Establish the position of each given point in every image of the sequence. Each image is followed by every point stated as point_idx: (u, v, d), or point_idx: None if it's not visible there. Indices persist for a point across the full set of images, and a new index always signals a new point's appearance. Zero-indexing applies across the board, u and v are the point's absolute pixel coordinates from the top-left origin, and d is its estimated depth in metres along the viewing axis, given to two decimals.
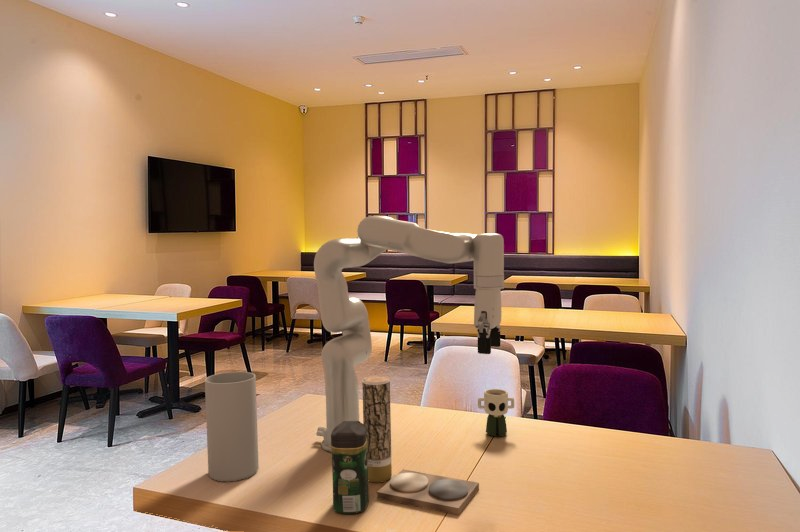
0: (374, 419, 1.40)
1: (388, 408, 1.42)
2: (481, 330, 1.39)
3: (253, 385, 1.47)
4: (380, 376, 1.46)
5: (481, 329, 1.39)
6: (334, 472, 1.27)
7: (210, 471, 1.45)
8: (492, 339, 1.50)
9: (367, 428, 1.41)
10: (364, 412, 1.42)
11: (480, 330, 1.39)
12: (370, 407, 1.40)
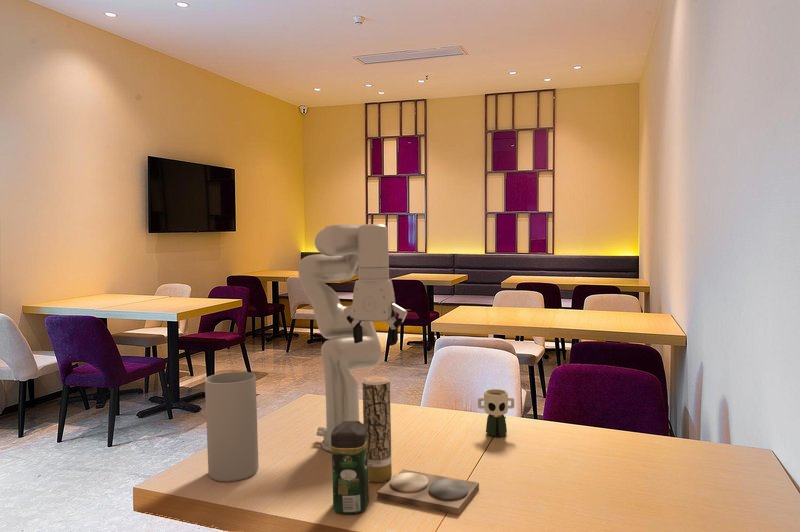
0: (374, 419, 1.40)
1: (388, 408, 1.42)
2: (403, 319, 1.39)
3: (253, 385, 1.47)
4: (380, 376, 1.46)
5: (404, 318, 1.39)
6: (334, 472, 1.27)
7: (210, 471, 1.45)
8: (358, 335, 1.44)
9: (367, 428, 1.41)
10: (364, 412, 1.42)
11: (403, 320, 1.39)
12: (370, 407, 1.40)
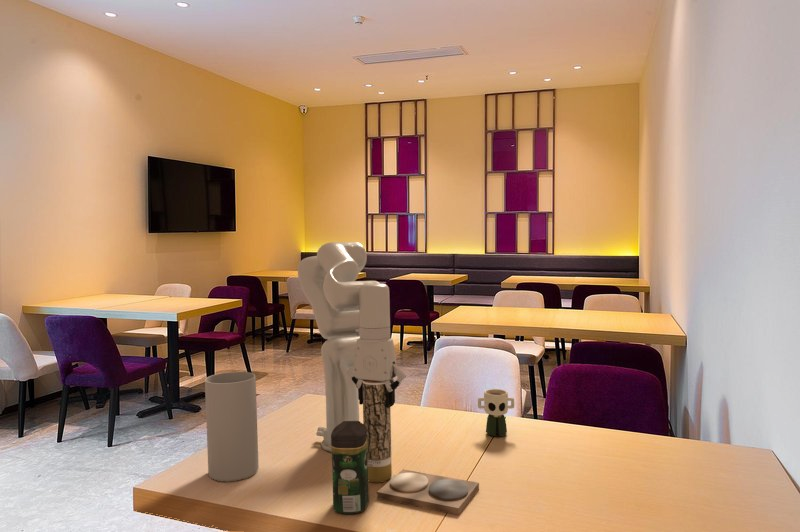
0: (374, 419, 1.40)
1: (388, 408, 1.42)
2: (400, 383, 1.40)
3: (253, 385, 1.47)
4: None
5: None
6: (334, 472, 1.27)
7: (210, 471, 1.45)
8: None
9: (367, 428, 1.41)
10: (364, 412, 1.42)
11: (400, 383, 1.40)
12: (370, 407, 1.40)
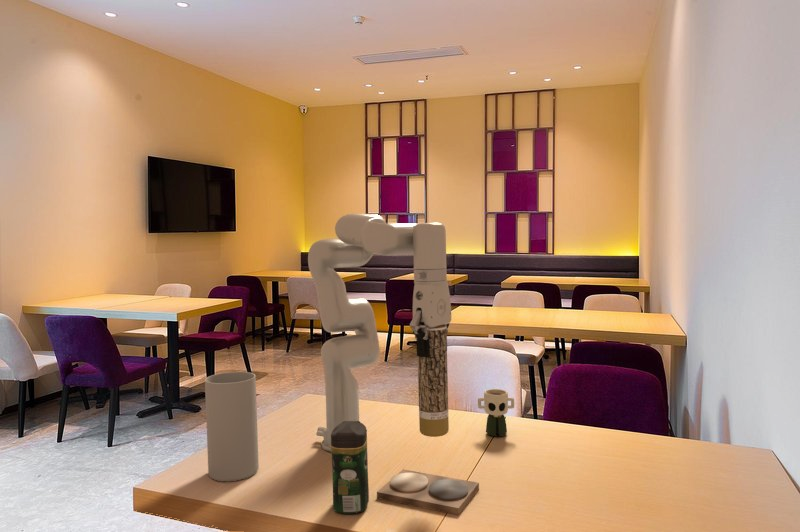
0: (446, 365, 1.32)
1: None
2: None
3: (253, 385, 1.47)
4: None
5: None
6: (334, 472, 1.27)
7: (210, 471, 1.45)
8: None
9: (442, 377, 1.31)
10: (437, 362, 1.30)
11: None
12: (445, 354, 1.32)
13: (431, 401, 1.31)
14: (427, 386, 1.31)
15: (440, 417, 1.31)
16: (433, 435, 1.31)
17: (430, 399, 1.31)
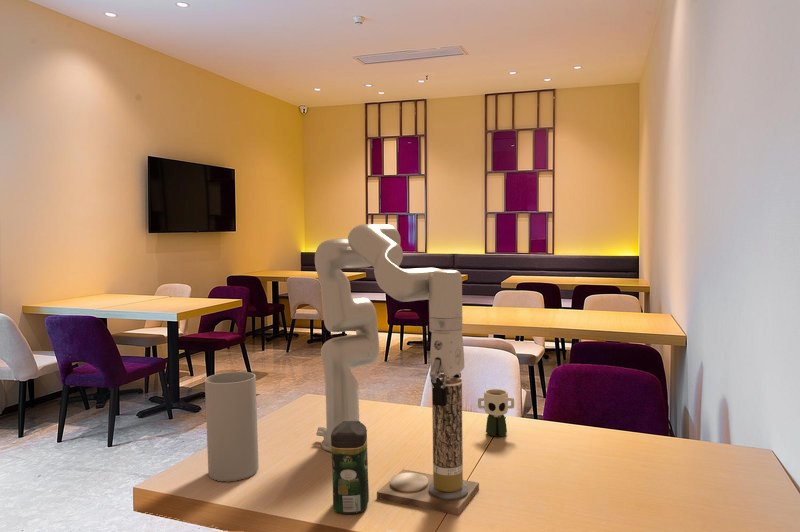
0: None
1: None
2: None
3: (253, 385, 1.47)
4: None
5: None
6: (334, 472, 1.27)
7: (210, 471, 1.45)
8: None
9: (459, 432, 1.30)
10: (455, 417, 1.29)
11: None
12: (461, 408, 1.31)
13: (448, 457, 1.29)
14: (444, 442, 1.29)
15: (457, 472, 1.30)
16: (450, 491, 1.30)
17: (447, 455, 1.29)
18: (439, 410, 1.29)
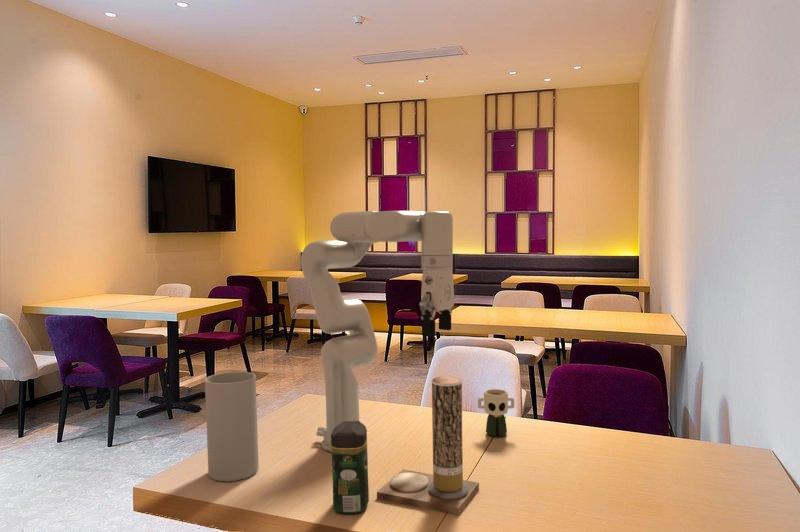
0: (461, 419, 1.32)
1: None
2: None
3: (253, 385, 1.47)
4: (433, 379, 1.33)
5: None
6: (334, 472, 1.27)
7: (210, 471, 1.45)
8: None
9: (459, 432, 1.30)
10: (455, 417, 1.29)
11: None
12: (461, 408, 1.31)
13: (448, 457, 1.29)
14: (444, 442, 1.29)
15: (457, 472, 1.30)
16: (450, 491, 1.30)
17: (447, 455, 1.29)
18: (439, 410, 1.29)
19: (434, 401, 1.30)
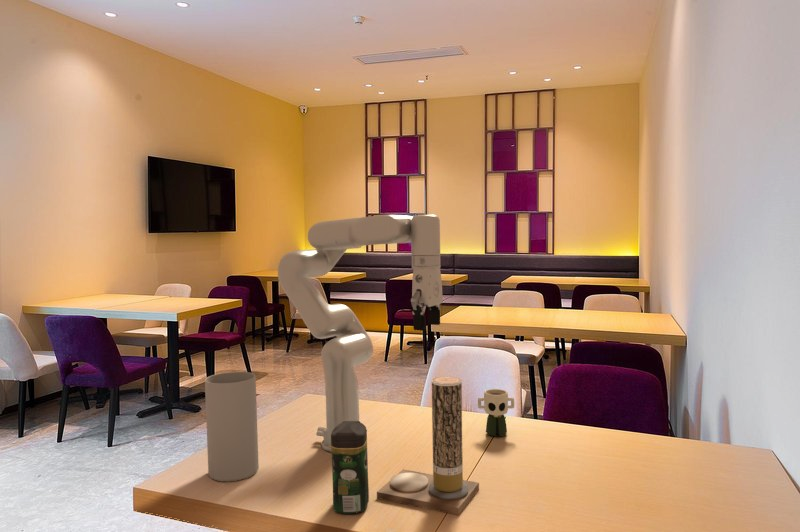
0: (461, 419, 1.32)
1: None
2: None
3: (253, 385, 1.47)
4: (433, 379, 1.33)
5: None
6: (334, 472, 1.27)
7: (210, 471, 1.45)
8: None
9: (459, 432, 1.30)
10: (455, 417, 1.29)
11: None
12: (461, 408, 1.31)
13: (448, 457, 1.29)
14: (444, 442, 1.29)
15: (457, 472, 1.30)
16: (450, 491, 1.30)
17: (447, 455, 1.29)
18: (439, 410, 1.29)
19: (434, 401, 1.30)
